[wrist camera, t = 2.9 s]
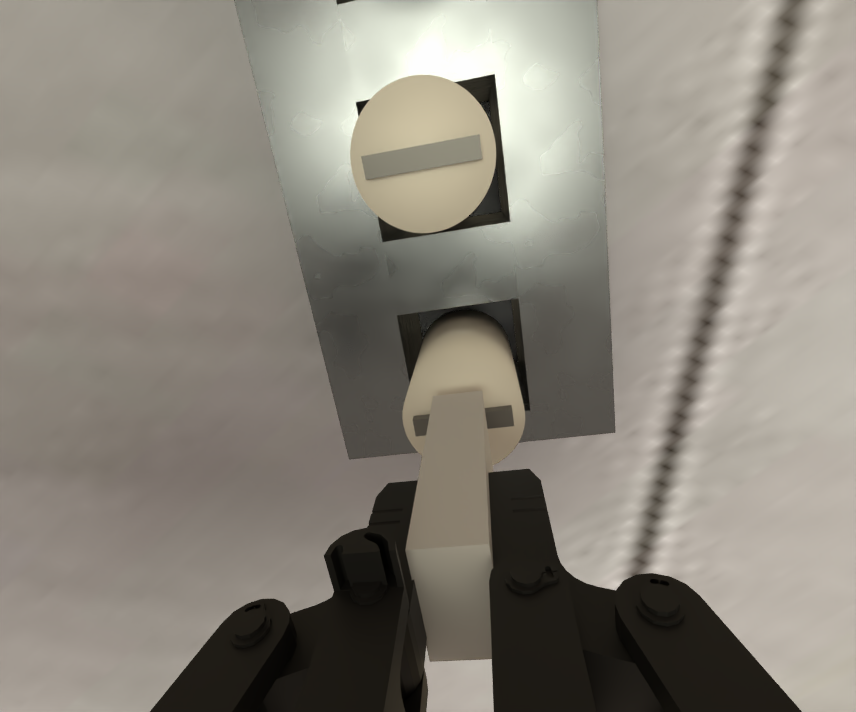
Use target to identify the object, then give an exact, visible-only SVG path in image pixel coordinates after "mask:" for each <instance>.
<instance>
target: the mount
mask: <svg viewBox="0 0 856 712" xmlns="http://www.w3.org/2000/svg"><path fill="white" fill-rule="evenodd" d="M234 2H235V6H236V10H237V14H238V18H239V22H240V25H241V29H242V33H243V37H244V41H245V45H246V49H247V53H248V57H249V61H250V65H251V69H252V73H253V77H254V81H255V85H256V89H257V93H258V97H259V101H260V105H261V109H262V113H263V117H264V121H265V125H266V129H267V133H268V137H269V141H270V145H271V149H272V153H273V157H274V161H275V165H276V169H277V173H278V177H279V181H280V185H281V189H282V193H283V197H284V201H285V205H286V209H287V213H288V217H289V221H290V225H291V229H292V233H293V237H294V241H295V245H296V249H297V253H298V257H299V261H300V265H301V269H302V273H303V277H304V281H305V285H306V289H307V293H308V297H309V301H310V305H311V309H312V313H313V317H314V321H315V325H316V329H317V333H318V337H319V341H320V345H321V349H322V353H323V357H324V361H325V365H326V369H327V373H328V377H329V381H330V385H331V389H332V393H333V397H334V401H335V405H336V409H337V413H338V417H339V421H340V425H341V429H342V433H343V437H344V441H345V445H346V449H347V453H348V457H349V459H357V458H367V457H377V456H387V455H397V454H407V453H417V451H416V449H415V448H414V447H413V446H412V444H411V443H410V441H409V439H408V437H407V435H406V433H405V429H404V426H403V419H402V416H403V405H404V401H405V398H406V395H407V391H408V388H409V385H410V382H411V378H412V375H413V372H414V368H415V365H416V362H417V358H418V355H419V352H420V348H421V345H422V342H423V339H422V334H421V328H420V322H419V317H418V312H425V311H432V310H439V309H447V308H454V307H461V306H468V305H475V304H482V303H489V302H497V301H504V300H511V303H512V312H513V321H514V330H515V339H516V348H517V357H518V362H514V365H515V369H516V374H517V378H518V382H519V387H520V391H521V395H522V400H523V404H524V409H525V426H524V430H523V434H522V436H521V438H520V441H519V442H526V441H536V440H546V439H556V438H566V437H576V436H586V435H596V434H606V433H615V412H614V389H613V365H612V341H611V318H610V294H609V271H608V247H607V224H606V200H605V177H604V153H603V130H602V106H601V83H600V59H599V36H598V12H597V0H234ZM413 75H433V76H439V77H442V78H445V79H448V80H451V81H453V82H455V83H457V84H458V85H460V86H461V87H463V88H464V89H466V90H467V91H468V92H469V93H470V94H471V95H472V96H473V97H474V98H475V99H476V100H477V101H478V102H483V101H488V100H489V104H490V113H491V123H492V130H493V133H494V138H495V143H496V168H497V177H498V186H499V195H500V204H501V212H497V213H491V214H484V215H478V216H472V217H467V218H465V219H464V220H463V221H461V222H460V223H458V224H456V225H454V226H452V227H450V228H448V229H445V230H442V231H438V232H433V233H414V232H408V231H405V230H401V229H398V228H396V227H394V226H392V225H390V224H388V223H387V222H385V221H384V220H382V219H381V218H380V217H378V216H377V215H376V214H375V213H374V212H373V211H372V210H371V209H370V208H369V207H368V205H367V204H366V202H365V201H364V200H363V198H362V196H361V194H360V193H359V191H358V189H357V186H356V184H355V181H354V177H353V174H352V169H351V162H350V147H351V139H352V134H353V130H354V127H355V124H356V121H357V119H358V117H359V115H360V113H361V111H362V110H363V108H364V107H365V105H366V104H367V102H368V101H369V100H370V99H371V98H372V97H373V96H374V95H375V94H376V93H377V92H378V91H379V90H381V89H382V88H383V87H385V86H386V85H388V84H390V83H391V82H394V81H396V80H398V79H401V78H404V77H408V76H413Z"/></svg>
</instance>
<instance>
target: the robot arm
mask: <svg viewBox="0 0 856 712" xmlns="http://www.w3.org/2000/svg"><path fill="white" fill-rule="evenodd" d="M372 512H373V513H372V514H371V517H370V520H369V526H368V527H367V528H364V529H359V530H354V531H352V532H350V533H348V534H346V535H343V536H341V537H340V538H339V539H337V540H336V541H335V542H334V543H333V544H331V545H330V547H329V548H328V550H327V551H326V553H325V555H324V558H325V561H326V565H327V568H328V572H329V575H330V578H331V582H332V585H333V589H334V594H333V597H332V598H330V599H328V600H327V601H325V602H322V603H320V604H318V605H315V606H312V607H309V608H306V609H303V610H300V611H297V612H294V613H291V614H290V612H289V610H288V608H287V607H286V605H285V604H284V603H283V602H281V601H278V600H276V599H260V600H257V601H254V602H251V603H248V604H246V605H244V606H243V607H241V608H239V609H238V610H236V611H234V612H233V613H232V614H231V615H230V616H229V617H228V618H227V619H226V620H225V621H224V622H223V623H222V624H221V625H220V626H219V628H218V629H217V630H216V631H215V632H214V634H213V635H212V636H211V637H210V639H209V640H208V641H207V642H206V643H205V645H204V646H203V647H202V648H201V650H200V651H199V652H198V653H197V655H196V656H195V657H194V658H193V659H192V661H191V662H190V663H189V664H188V666H187V667H186V668H185V669H184V671H183V672H182V673H181V674H180V675H179V677H178V678H177V679H176V680H175V682H174V683H173V684H172V685H171V686H170V688H169V689H168V690H167V691H166V693H165V694H164V695H163V696H162V698H161V699H160V700H159V701H158V702H157V704H156V705H155V706H154V707H153V709H152V710H151V711H150V712H426V708H427V696H428V686H427V678H426V673H425V669H424V661H425V651H426V646H427V650H428V655H429V659H430V661H455V660H480V659H492V673H493V699H494V712H802V711H801V710H800V709H799V708H798V707H797V706H796V705H795V703H794V702H793V701H792V700H791V699H790V698H789V697H788V696H787V694H786V693H785V692H784V691H783V690H782V689H781V688H780V686H779V685H778V684H777V683H776V682H775V681H774V680H773V678H772V677H771V676H770V675H769V674H768V673H767V672H766V670H765V669H764V668H763V667H762V666H761V665H760V664H759V663H758V661H757V660H756V659H755V658H754V657H753V656H752V655H751V653H750V652H749V651H748V650H747V649H746V648H745V647H744V645H743V644H742V643H741V642H740V641H739V640H738V639H737V638H736V636H735V635H734V634H733V633H732V632H731V631H730V630H729V628H728V627H727V626H726V625H725V624H724V623H723V622H722V620H721V619H720V618H719V617H718V616H717V615H716V614H715V613H714V611H713V610H712V609H711V608H710V607H709V606H708V605H707V603H706V602H705V601H704V600H703V599H702V598H701V597H700V595H698V594H697V593H696V592H695V591H694V590H692V589H691V588H690V587H689V586H688V585H686V584H685V583H683V582H680V581H678V580H676V579H674V578H672V577H669V576H664V575H659V574H653V573H650V574H639V575H635V576H633V577H631V578H628V579H626V580H624V581H623V582H622V584H621V585H620V586H619V587H618V589H617V590H616V591H615V590H610V589H605V588H601V587H596V586H593V585H590V584H586V583H584V582H582V581H580V580H578V579H576V578H575V577H573V576H572V575H571V574H570V573H568V572H567V571H566V570H565V568H564V567H563V566H562V565H561V563H560V561H559V558H558V555H557V551H556V547H555V542H554V538H553V533H552V529H551V524H550V520H549V516H548V511H547V507H546V502H545V498H544V494H543V489H542V485H541V480H540V479H539V478H538V477H537V476H536V475H535V474H534V473H533V472H532V471H531V470H530V469H522V470H511V471H500V472H493V464H492V457H491V450H490V443H489V436H488V429H487V421H486V414H485V407H484V400H483V393H482V390H481V391H473V392H464V393H455V394H447V395H438V396H433V400H432V405H431V411H430V416H429V422H428V427H427V433H426V438H425V444H424V449H423V455H422V460H421V466H420V471H419V477H418V481H407V482H396V483H388V484H387V485H386V487H385V488H384V489H383V490H382V491H381V492H380V493H379V494H378V496H377V497H376V501H375V504H374V507H373V510H372Z"/></svg>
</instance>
